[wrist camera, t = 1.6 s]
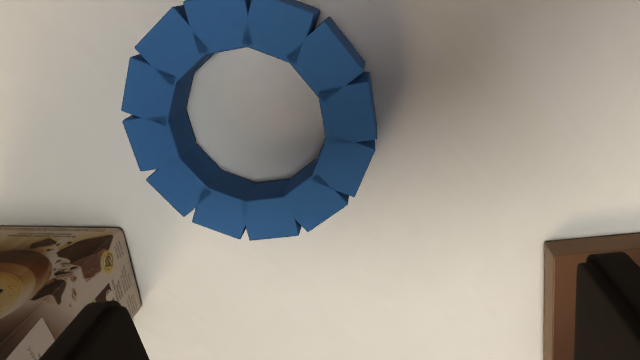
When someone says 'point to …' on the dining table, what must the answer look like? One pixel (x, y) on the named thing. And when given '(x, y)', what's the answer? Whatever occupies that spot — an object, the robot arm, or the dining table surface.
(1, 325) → the coffee box
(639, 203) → the dining table surface
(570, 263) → the peg on square base
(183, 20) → the collar
